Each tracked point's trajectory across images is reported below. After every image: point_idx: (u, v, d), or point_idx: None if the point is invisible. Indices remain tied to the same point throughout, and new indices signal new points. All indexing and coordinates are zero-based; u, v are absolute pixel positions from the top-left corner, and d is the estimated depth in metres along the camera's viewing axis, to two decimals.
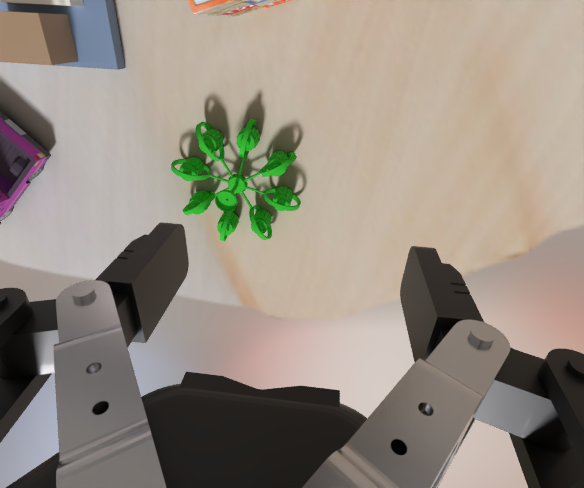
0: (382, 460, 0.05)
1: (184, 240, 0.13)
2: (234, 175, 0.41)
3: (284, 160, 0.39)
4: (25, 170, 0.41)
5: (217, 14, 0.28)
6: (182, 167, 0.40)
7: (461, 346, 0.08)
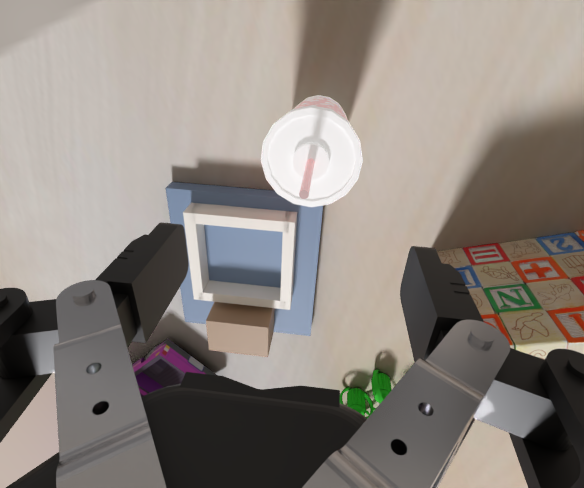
0: (382, 460, 0.05)
1: (184, 240, 0.13)
2: None
3: None
4: None
5: None
6: (353, 408, 0.43)
7: (461, 346, 0.08)
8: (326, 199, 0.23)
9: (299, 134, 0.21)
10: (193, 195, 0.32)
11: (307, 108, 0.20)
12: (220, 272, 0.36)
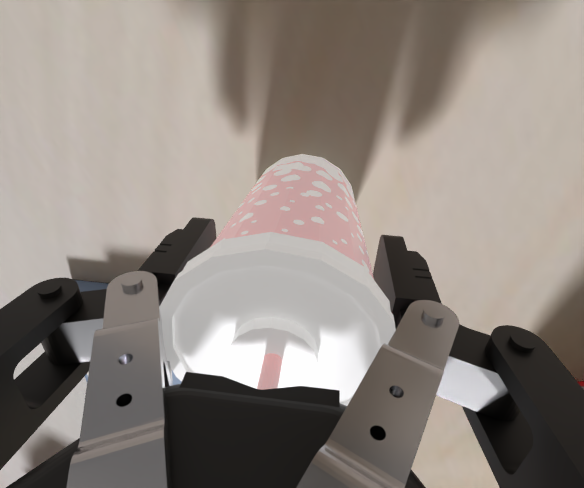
0: (365, 448, 0.05)
1: (215, 234, 0.13)
2: None
3: None
4: None
5: None
6: None
7: (417, 326, 0.08)
8: None
9: (242, 301, 0.09)
10: None
11: (257, 250, 0.08)
12: None
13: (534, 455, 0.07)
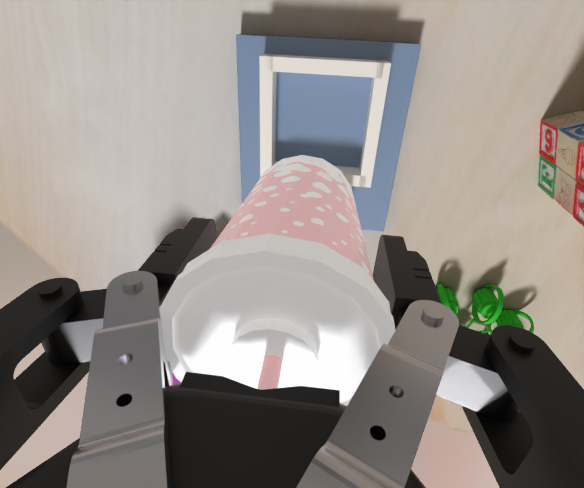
0: (365, 448, 0.05)
1: (215, 235, 0.13)
2: None
3: (521, 325, 0.38)
4: None
5: None
6: None
7: (417, 326, 0.08)
8: None
9: (243, 302, 0.09)
10: (268, 43, 0.28)
11: (257, 251, 0.08)
12: (289, 149, 0.32)
13: (534, 455, 0.07)
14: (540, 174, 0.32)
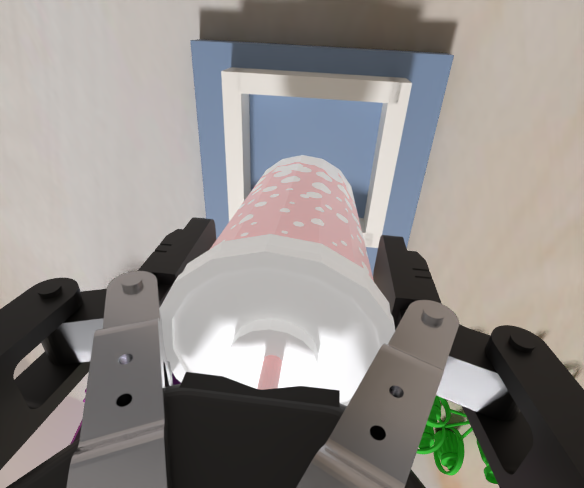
0: (365, 448, 0.05)
1: (215, 234, 0.13)
2: None
3: None
4: None
5: None
6: None
7: (417, 326, 0.08)
8: None
9: (243, 303, 0.09)
10: (235, 53, 0.20)
11: (257, 252, 0.08)
12: None
13: (534, 455, 0.07)
14: None
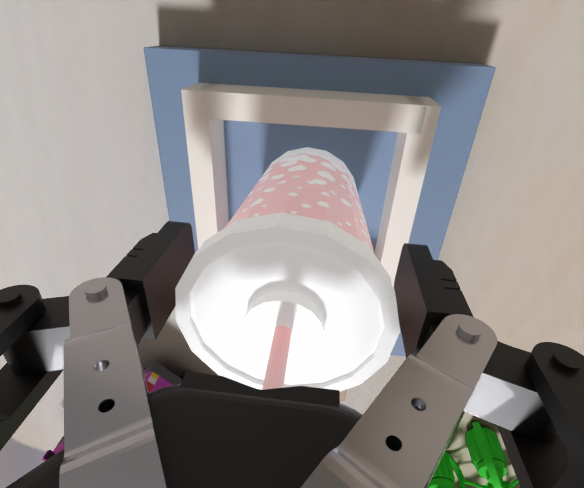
0: (378, 457, 0.05)
1: (192, 238, 0.13)
2: None
3: None
4: None
5: None
6: (437, 484, 0.26)
7: (450, 340, 0.08)
8: None
9: (256, 276, 0.09)
10: (203, 64, 0.15)
11: (270, 227, 0.08)
12: None
13: (568, 478, 0.06)
14: None
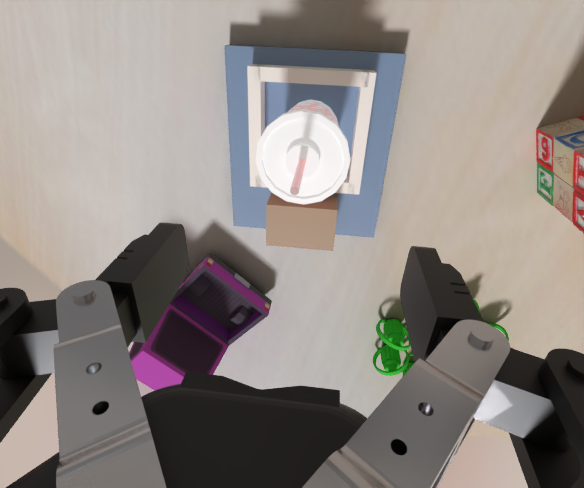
0: (382, 460, 0.05)
1: (184, 240, 0.13)
2: None
3: None
4: (253, 322, 0.40)
5: None
6: (392, 337, 0.40)
7: (461, 346, 0.08)
8: (317, 197, 0.25)
9: (291, 136, 0.23)
10: (256, 53, 0.29)
11: (298, 112, 0.22)
12: None
13: (580, 487, 0.06)
14: (538, 181, 0.33)
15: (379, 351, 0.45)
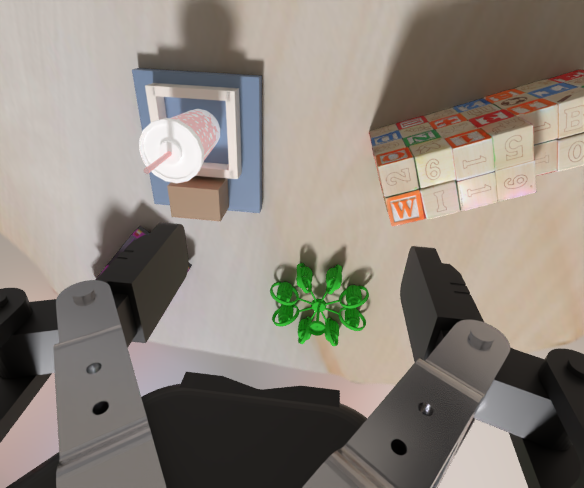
0: (382, 460, 0.05)
1: (184, 240, 0.13)
2: (317, 299, 0.53)
3: (360, 296, 0.51)
4: None
5: None
6: (280, 294, 0.52)
7: (461, 346, 0.08)
8: (185, 178, 0.36)
9: (160, 136, 0.34)
10: (154, 75, 0.40)
11: (161, 119, 0.33)
12: None
13: (579, 487, 0.06)
14: None
15: None
